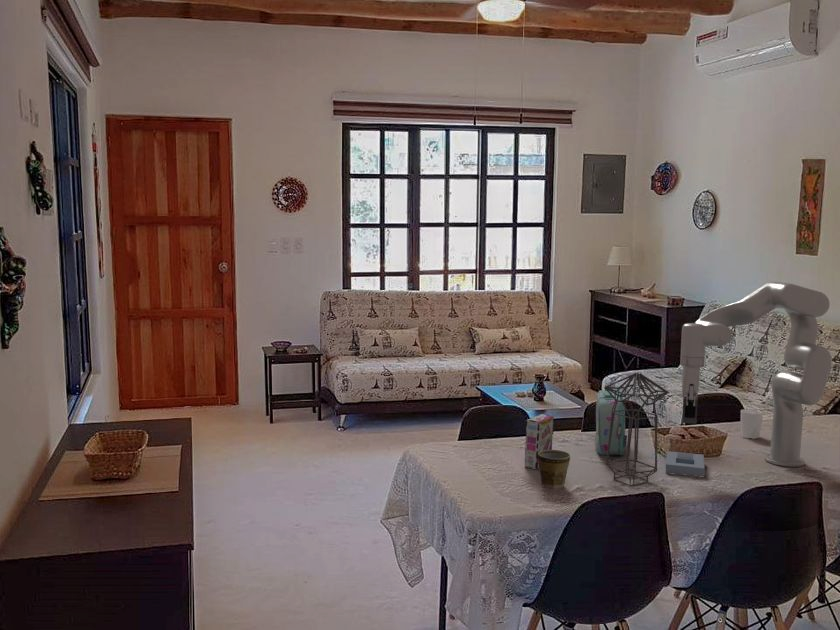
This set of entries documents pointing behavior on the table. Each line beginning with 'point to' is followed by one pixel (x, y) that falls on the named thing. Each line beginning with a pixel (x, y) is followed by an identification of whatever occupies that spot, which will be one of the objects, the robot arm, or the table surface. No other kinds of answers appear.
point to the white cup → (751, 423)
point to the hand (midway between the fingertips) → (689, 415)
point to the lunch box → (603, 425)
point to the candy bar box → (538, 438)
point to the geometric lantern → (643, 379)
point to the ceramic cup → (553, 467)
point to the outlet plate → (685, 463)
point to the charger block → (684, 419)
